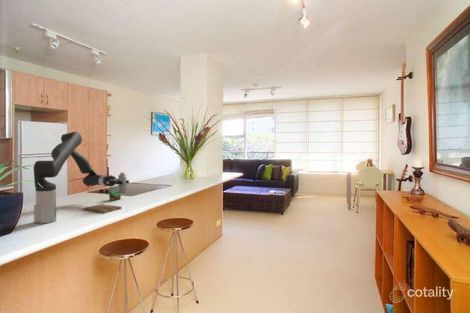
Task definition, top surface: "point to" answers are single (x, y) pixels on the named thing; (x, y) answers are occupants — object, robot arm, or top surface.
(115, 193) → the food container
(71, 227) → the top surface
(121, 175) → the slate bottle
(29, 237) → the top surface
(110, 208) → the walnut board
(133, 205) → the top surface
